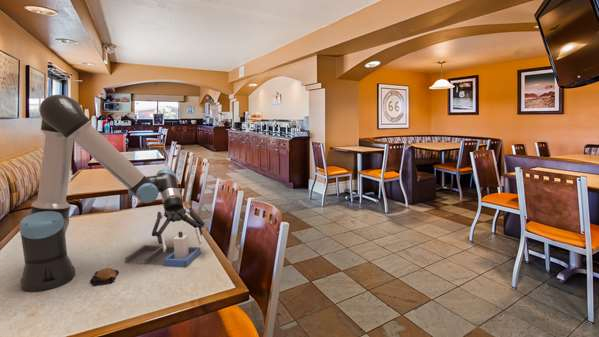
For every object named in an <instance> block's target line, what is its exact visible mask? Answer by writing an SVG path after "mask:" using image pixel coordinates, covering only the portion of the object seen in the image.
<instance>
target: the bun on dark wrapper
mask: <svg viewBox="0 0 599 337" xmlns="http://www.w3.org/2000/svg"><path fill="white" fill-rule="evenodd" d="M119 274H120V272H119V270H118V269H113V268H111V267H106V268H102V269H100V270H97V271H96V272H95V273H94V275H93V276H92V277H91V278H90V280H89V282H90V285H91V287H99V286H107V285H111V284H113V283H115V282H116V278H117V276H118V275H119Z"/></svg>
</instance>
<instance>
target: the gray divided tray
mask: <svg viewBox="0 0 599 337" xmlns="http://www.w3.org/2000/svg"><path fill="white" fill-rule="evenodd" d="M188 250H189V256H188V257H187V258H186V259H175V256H174V245H172V246H171V245H166V252H163V247H162V245H155V244H154V245H153V244H143V245H142V246H140V247H139V248H137V249H135V250H134V251H132V252H131V253H130V254H128V255H127V256H125V257H124V264H133V265H134V264H135V265H151V266H152V265H153V266H164V267H178V268H179V267H180V268H181V267H182V268H187V267H188V266H189V265H190V264H191V263H192V262H193V261H194V260H195V259H196V258H197V257H198V256H199V255H201V253H202V252H201V247H198V246H197V247H194V246H188Z"/></svg>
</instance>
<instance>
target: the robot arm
mask: <svg viewBox="0 0 599 337" xmlns="http://www.w3.org/2000/svg"><path fill="white" fill-rule="evenodd" d="M39 114H40V117H41V125H40V131H41V132H42V134H44V135H45V136H44V144H43V152H42V153H43V154H42V161H41V169H40V177H39V184H38V185H39V186H38V192H37V200H35V201H33V202H32V203H31V207H30V212H29V213H30V214H29V215H26V216H24V217H23V218H22V219H21V220H20V223H19V234H20V237H21V244H22V251H23V252H22V253H23V257H24V267H23V271H22V277H21V278H20V288H21V290H22V291H25V292H41V291H46V290H51V289H55V288H58V287H61V286H63V285H65V284H67V283H69V282H71V281H72V280H73V279H74V277H76V268H75V266H74V265H73V264H72V261H71V260H70V257H69V255H68V251H67V250H68V249H67V240H66V233H67V230H68V227H69V225H70V218H69V216H70V211H71V210H70V209H71V208H70V207H71V204H70V203H69V202H68V201H67V195H68V187H69V186H68V185H69V180H70V171H71V162H72V155H73V147H74V142H75V143H76V144H77V145H78V146H79V147H81V148H82V149H83V150H84V151H85V152H86V153H87V154H88V155H90V156H91V158H93V159H94V160H96V162H97V163H99V164H100V165H101V166H102V168H104V169H105V170H107V172H109V173H110V174H111V175H112V176H113V177H114V178H115V179H116V180H117V181H119V182H120V183H121V184H122V185H123V186H124V187H126V188H127V192H128V193H127V194H128V196H129V197H137V200H139V201H140V202H142V203H145V204H151V203H153V202H155V201H156V200H157V199H158V196H159V193H160V195H161V200H162V204H163V205H162V206H163V209H164V212H161V211H158V212H157V214H156V217H157V218H156V220H155V223H154V226H153V229H152V231H151V236H152V237H156V238H157V242H158V244H159V245H160V244H161V246H162V247H163V252H166V246H167V245H166V240H165V236H164V233H163V232H164V231H165V230H166V228H167V226H168V225H169V224H170V223H171V222H172V223H175V222H180V221H183V222H185V223H186V224H189V225H190V226H192V227H193V228H194V229H195V230H194V231H195V234H196V239H197V242H198V244H199V246H200V245H202V243H203V240H202V236H203V231H202V229H204V227H205V225H206V223H205V222H204V221H203V220H202V219H201V218H200V217H199V216H198V215H197V213H196V212H194V210H193V208H192V206H190V207H188V208H185V207H184V203H183V199H182V196H181V192H180V189H179V184H178V180H177V176H176V174H175V171H174V170H173V169H171V168H166V167H165V168H163V169H159V170H158V171H157V173H156V175H151V176H145V174H144V173H143V172H141V171H140V170H139V169H138V168H137V167H136V166H135V165H134V164H133V163H132V162H131V161H130V160H129V159H128V158H126V157H125V155H123V154H122V153H121V152H120V151H119V150H118V149H117V148H116V147H115V146H114V145H113V144H112V143H111V142H109V140H107V138H105V136H103V135H102V134H101V133H100V132H99V131H98V130H97V129H96V128H95V127H94V126H93V125H92V120H91V119H90V118H89V117H88V116H87V115H86V114H85V113H84V112H83V108H82V106H81V104H79V102H78V101H77V100H75V99H74V98H72V97H69V96H66V95H63V94H52V95H50V96H47V97H46V98H44V99H43V100H42V102H41V103H40V105H39ZM163 218H166V219H165V221H164V222H163V224H162V225H161V226H160V227H159V225H160V224H161V220H162V219H163ZM158 229H159V230H158ZM157 230H158V231H157Z"/></svg>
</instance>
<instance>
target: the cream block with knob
mask: <svg viewBox="0 0 599 337" xmlns="http://www.w3.org/2000/svg"><path fill="white" fill-rule="evenodd" d="M177 234H178V235H176V236H175V237H174V238H173V246H174V256H175V259H186V258H187V257H188V256H189V250H188V247H189V235H186V234H185V235H183V231H178V233H177Z"/></svg>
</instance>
